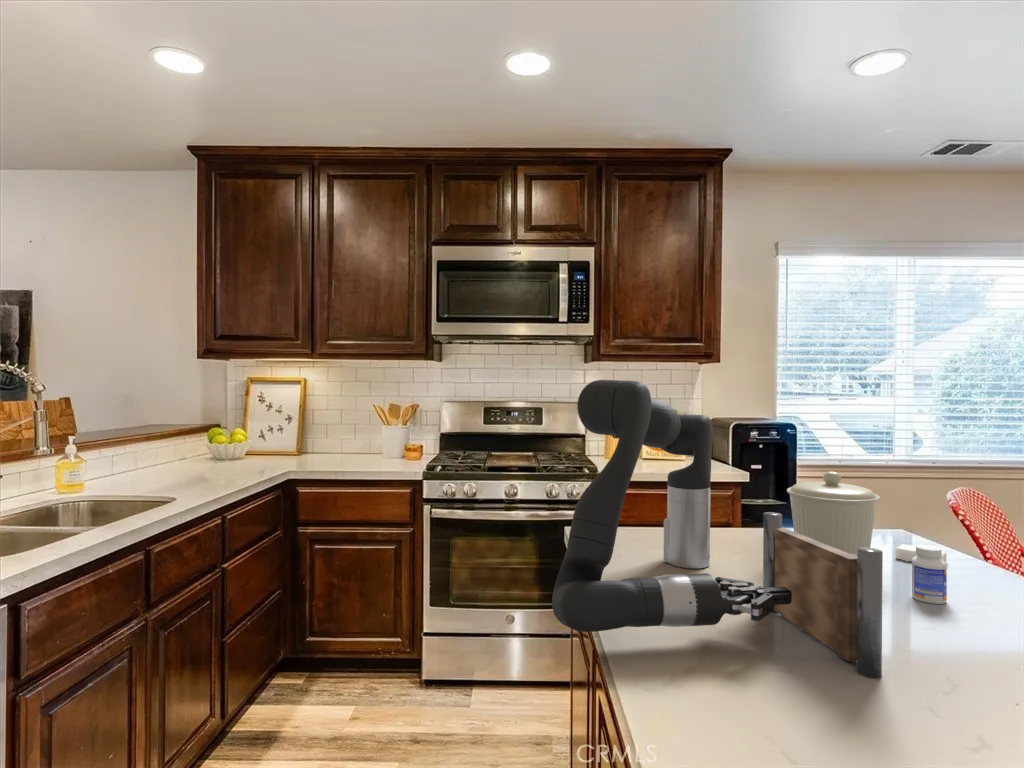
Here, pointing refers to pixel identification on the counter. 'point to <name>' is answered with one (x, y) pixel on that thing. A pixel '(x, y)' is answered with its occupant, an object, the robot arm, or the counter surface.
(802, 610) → the gate leaf
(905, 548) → the soap
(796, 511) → the canister
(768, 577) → the gate posts
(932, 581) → the pill bottle
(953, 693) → the counter surface
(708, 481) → the robot arm
